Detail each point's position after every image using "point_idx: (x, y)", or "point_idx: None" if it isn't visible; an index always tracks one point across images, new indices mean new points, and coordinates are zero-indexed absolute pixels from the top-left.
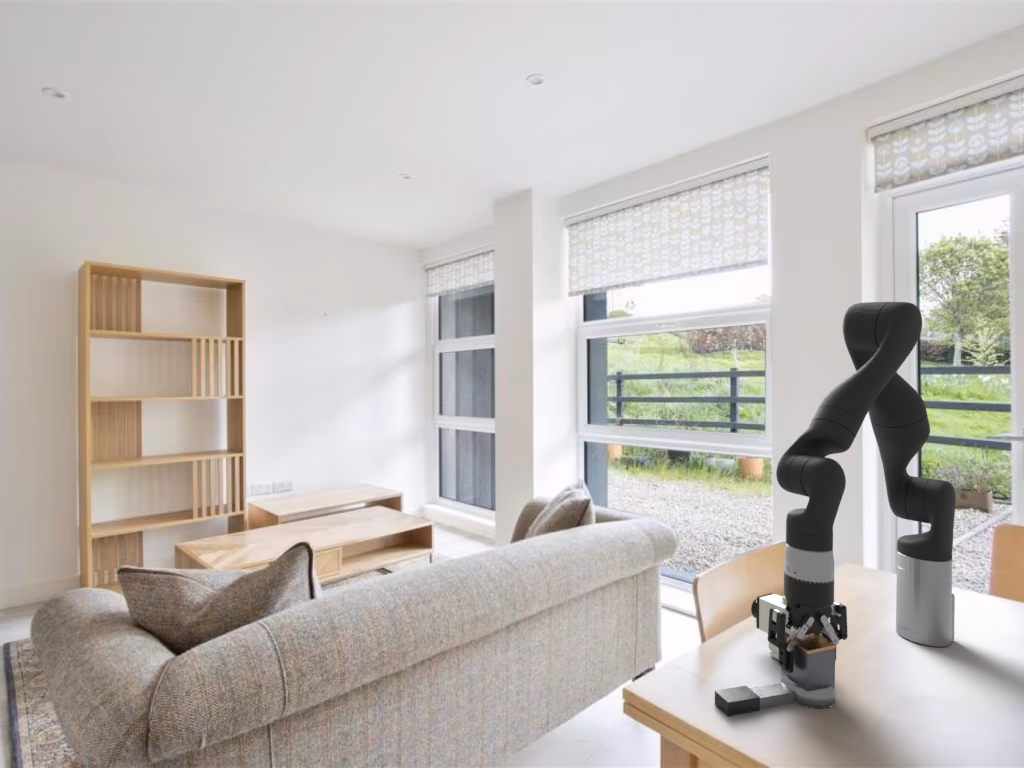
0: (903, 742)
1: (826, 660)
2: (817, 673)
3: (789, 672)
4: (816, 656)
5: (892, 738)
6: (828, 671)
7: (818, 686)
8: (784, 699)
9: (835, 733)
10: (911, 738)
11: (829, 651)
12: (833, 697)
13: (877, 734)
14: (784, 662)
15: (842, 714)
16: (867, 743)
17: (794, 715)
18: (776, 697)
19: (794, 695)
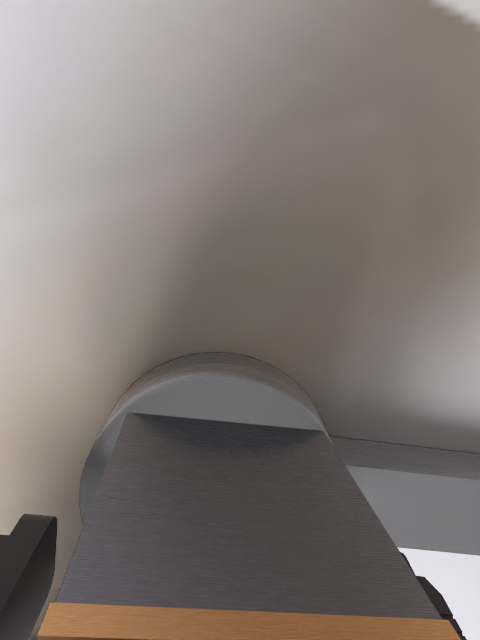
0: (127, 4)
1: (187, 524)
2: (267, 476)
3: (402, 553)
4: (317, 575)
5: (150, 53)
6: (171, 464)
7: (247, 429)
8: (396, 455)
9: (377, 204)
10: (52, 7)
11: (147, 585)
12: (170, 372)
13: (192, 110)
14: (454, 624)
15: (203, 292)
16: (310, 83)
17: (419, 372)
18: (448, 470)
19: (342, 455)
